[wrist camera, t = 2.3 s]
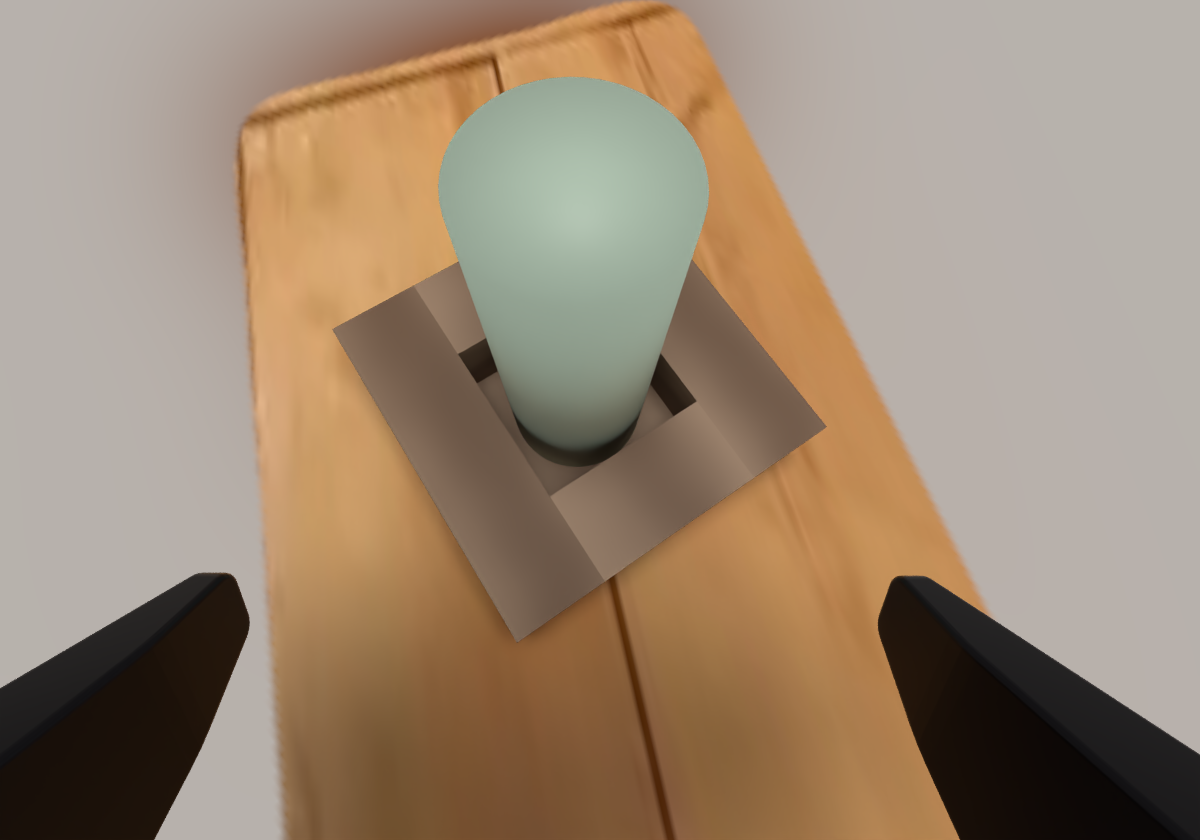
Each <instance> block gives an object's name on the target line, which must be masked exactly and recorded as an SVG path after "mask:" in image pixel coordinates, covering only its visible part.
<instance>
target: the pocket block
mask: <svg viewBox="0 0 1200 840" xmlns="http://www.w3.org/2000/svg"><path fill="white" fill-rule="evenodd" d="M332 330H333V331H334V333H335V335H336V337H337V338H338V340H339V342H340V343H341V345H342V347H343V348H344V350H345V352H346V353H347V355H348V357H349V359H350V360H351V362H352V364H353V365H354V367H355V369H356V370H357V372H358V374H359V376H360V377H361V379H362V381H363V382H364V384H365V386H366V387H367V389H368V391H369V393H370V394H371V396H372V398H373V399H374V401H375V403H376V404H377V406H378V408H379V409H380V411H381V413H382V415H383V416H384V418H385V420H386V421H387V423H388V425H389V426H390V428H391V430H392V432H393V433H394V435H395V437H396V438H397V440H398V442H399V443H400V445H401V447H402V448H403V450H404V452H405V454H406V455H407V457H408V459H409V460H410V462H411V464H412V465H413V467H414V469H415V471H416V472H417V474H418V476H419V477H420V479H421V481H422V482H423V484H424V486H425V488H426V489H427V491H428V493H429V494H430V496H431V498H432V499H433V501H434V503H435V504H436V506H437V508H438V510H439V511H440V513H441V515H442V516H443V518H444V520H445V521H446V523H447V525H448V527H449V528H450V530H451V532H452V533H453V535H454V537H455V538H456V540H457V542H458V543H459V545H460V547H461V549H462V550H463V552H464V554H465V555H466V557H467V559H468V560H469V562H470V564H471V566H472V567H473V569H474V571H475V572H476V574H477V576H478V577H479V579H480V581H481V583H482V584H483V586H484V588H485V589H486V591H487V593H488V594H489V596H490V598H491V599H492V601H493V603H494V605H495V606H496V608H497V610H498V611H499V613H500V615H501V616H502V618H503V620H504V622H505V623H506V625H507V627H508V628H509V630H510V632H511V633H512V635H513V637H514V639H515V640H516V642H519V641H520V640H522V639H523V638H525V637H526V636H527V635H529V634H530V633H532V632H533V631H535V630H536V629H537V628H539V627H540V626H542V625H543V624H545V623H546V622H548V621H549V620H550V619H552V618H553V617H555V616H556V615H558V614H559V613H560V612H562V611H563V610H565V609H566V608H568V607H569V606H570V605H572V604H573V603H575V602H576V601H578V600H579V599H581V598H582V597H583V596H585V595H586V594H588V593H589V592H591V591H592V590H593V589H595V588H596V587H598V586H599V585H601V584H602V583H604V582H605V581H606V580H608V579H609V578H611V577H612V576H614V575H615V574H616V573H618V572H619V571H621V570H622V569H624V568H625V567H626V566H628V565H629V564H631V563H632V562H634V561H635V560H637V559H638V558H639V557H641V556H642V555H644V554H645V553H647V552H648V551H649V550H651V549H652V548H654V547H655V546H657V545H658V544H660V543H661V542H662V541H664V540H665V539H667V538H668V537H670V536H671V535H672V534H674V533H675V532H677V531H678V530H680V529H681V528H682V527H684V526H685V525H687V524H688V523H690V522H691V521H693V520H694V519H695V518H697V517H698V516H700V515H701V514H703V513H704V512H705V511H707V510H708V509H710V508H711V507H713V506H714V505H715V504H717V503H718V502H720V501H721V500H723V499H724V498H726V497H727V496H728V495H730V494H731V493H733V492H734V491H736V490H737V489H738V488H740V487H741V486H743V485H744V484H746V483H747V482H749V481H750V480H751V479H753V478H754V477H756V476H757V475H759V474H760V473H761V472H763V471H764V470H766V469H767V468H769V467H770V466H771V465H773V464H774V463H776V462H777V461H779V460H780V459H782V458H783V457H784V456H786V455H787V454H789V453H790V452H792V451H793V450H794V449H796V448H797V447H799V446H800V445H802V444H803V443H805V442H806V441H807V440H809V439H810V438H812V437H813V436H815V435H816V434H817V433H819V432H820V431H822V430H823V429H825V428H826V425H825V424H824V423H823V422H822V420H821V419H820V418H819V417H818V415H817V414H816V413H815V412H814V410H813V409H812V408H811V407H810V405H809V404H808V403H807V402H806V401H805V399H804V398H803V397H802V396H801V394H800V393H799V392H798V391H797V389H796V388H795V387H794V386H793V384H792V383H791V382H790V381H789V379H788V378H787V377H786V376H785V374H784V373H783V372H782V371H781V369H780V368H779V367H778V366H777V365H776V363H775V362H774V361H773V360H772V358H771V357H770V356H769V355H768V353H767V352H766V351H765V350H764V348H763V347H762V346H761V345H760V343H759V342H758V341H757V340H756V338H755V337H754V336H753V335H752V333H751V332H750V331H749V330H748V329H747V327H746V326H745V325H744V324H743V322H742V321H741V320H740V319H739V317H738V316H737V315H736V314H735V312H734V311H733V310H732V309H731V307H730V306H729V305H728V304H727V302H726V301H725V300H724V299H723V298H722V296H721V295H720V294H719V293H718V291H717V290H716V289H715V288H714V286H713V285H712V284H711V283H710V281H709V280H708V279H707V278H706V276H705V275H704V274H703V273H702V271H701V270H700V269H699V268H698V266H697V265H696V264H695V263H694V262H693V260H692V259H691V262H690V265H689V268H688V271H687V274H686V277H685V280H684V283H683V286H682V289H681V292H680V295H679V298H678V301H677V304H676V307H675V310H674V313H673V316H672V319H671V322H670V325H669V328H668V331H667V334H666V337H665V340H664V344H663V347H662V350H661V353H660V356H659V359H658V362H657V365H656V368H655V371H654V374H653V377H652V380H651V383H650V386H649V389H648V392H647V395H646V398H645V401H644V404H643V407H642V410H641V413H640V416H639V419H638V422H637V425H636V427H635V430H634V432H633V434H632V436H631V438H630V439H629V441H628V442H627V443H626V445H625V446H624V447H623V448H622V449H621V450H620V451H619V452H618V453H616V454H615V455H613V456H612V457H610V458H609V459H607V460H605V461H603V462H600V463H598V464H594V465H590V466H583V467H570V466H563V465H560V464H556V463H553V462H551V461H549V460H547V459H545V458H543V457H542V456H540V455H539V454H537V453H536V452H535V451H534V450H533V449H532V448H531V447H530V446H529V445H528V444H527V442H526V441H525V440H524V438H523V437H522V435H521V433H520V431H519V428H518V426H517V423H516V420H515V417H514V415H513V412H512V409H511V406H510V403H509V401H508V398H507V395H506V392H505V389H504V387H503V384H502V381H501V378H500V375H499V373H498V370H497V367H496V364H495V361H494V359H493V356H492V353H491V350H490V347H489V345H488V342H487V339H486V336H485V333H484V331H483V328H482V325H481V322H480V319H479V317H478V314H477V311H476V308H475V305H474V303H473V300H472V297H471V294H470V291H469V289H468V286H467V283H466V280H465V277H464V275H463V272H462V269H461V266H460V263H459V262H457V263H455V264H453V265H451V266H449V267H448V268H446V269H444V270H442V271H440V272H438V273H436V274H434V275H433V276H431V277H429V278H427V279H425V280H423V281H421V282H420V283H418V284H416V285H414V286H412V287H410V288H408V289H406V290H405V291H403V292H401V293H399V294H397V295H395V296H393V297H391V298H390V299H388V300H386V301H384V302H382V303H380V304H378V305H377V306H375V307H373V308H371V309H369V310H367V311H365V312H363V313H362V314H360V315H358V316H356V317H354V318H352V319H350V320H348V321H347V322H345V323H343V324H341V325H339V326H337V327H335V328H334V329H332Z"/></svg>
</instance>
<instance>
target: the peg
mask: <svg viewBox="0 0 1200 840" xmlns="http://www.w3.org/2000/svg"><path fill="white" fill-rule="evenodd" d="M438 189H439V202H440V207H441V211H442V216H443V219H444V222H445V224H446V227H447V230H448V233H449V236H450V238H451V241H452V244H453V247H454V249H455V252H456V255H457V258H458V261H459V263H460V266H461V269H462V272H463V275H464V277H465V280H466V283H467V286H468V289H469V291H470V294H471V297H472V300H473V303H474V305H475V308H476V311H477V314H478V317H479V319H480V322H481V325H482V328H483V331H484V333H485V336H486V339H487V342H488V345H489V347H490V350H491V353H492V356H493V359H494V361H495V364H496V367H497V370H498V373H499V375H500V378H501V381H502V384H503V387H504V389H505V392H506V395H507V398H508V401H509V403H510V406H511V409H512V412H513V415H514V417H515V420H516V423H517V426H518V428H519V431H520V433H521V435H522V437H523V438H524V440H525V441H526V442H527V444H528V445H529V446H530V447H531V448H532V449H533V450H534V451H535V452H536V453H537V454H539V455H540V456H542V457H543V458H545V459H547V460H549V461H551V462H553V463H556V464H560V465H563V466H570V467H583V466H590V465H594V464H598V463H600V462H603V461H605V460H607V459H609V458H610V457H612V456H613V455H615V454H616V453H618V452H619V451H620V450H621V449H622V448H623V447H624V446H625V445H626V443H627V442H628V441H629V439H630V438H631V436H632V434H633V432H634V430H635V427H636V425H637V422H638V419H639V416H640V413H641V410H642V407H643V404H644V401H645V398H646V395H647V392H648V389H649V386H650V383H651V380H652V377H653V374H654V371H655V368H656V365H657V362H658V359H659V356H660V353H661V350H662V347H663V344H664V340H665V337H666V334H667V331H668V328H669V325H670V322H671V319H672V316H673V313H674V310H675V307H676V304H677V301H678V298H679V295H680V292H681V289H682V286H683V283H684V280H685V277H686V274H687V271H688V268H689V265H690V262H691V259H692V256H693V253H694V250H695V247H696V244H697V241H698V238H699V235H700V232H701V229H702V226H703V223H704V219H705V215H706V211H707V207H708V197H709V187H708V176H707V172H706V167H705V163H704V160H703V158H702V155H701V153H700V150H699V148H698V146H697V145H696V143H695V141H694V139H693V138H692V136H691V135H690V133H689V132H688V131H687V129H686V128H685V127H684V125H683V124H682V123H681V122H680V121H679V120H678V119H677V118H676V117H675V116H674V115H673V114H672V113H671V112H669V111H668V110H667V109H666V108H664V107H663V106H662V105H661V104H659V103H657V102H656V101H654V100H653V99H651V98H649V97H648V96H646V95H644V94H642V93H640V92H638V91H636V90H634V89H631V88H628V87H626V86H623V85H620V84H617V83H613V82H609V81H605V80H600V79H592V78H585V77H561V78H550V79H544V80H539V81H534V82H530V83H527V84H524V85H520V86H518V87H515V88H513V89H510V90H508V91H505V92H503V93H502V94H500V95H498V96H496V97H494V98H493V99H491V100H489V101H488V102H487V103H485V104H484V105H482V106H481V107H480V108H478V109H477V110H476V111H475V112H474V113H473V114H472V115H471V116H470V117H469V118H467V120H466V121H465V122H464V123H463V124H462V126H461V127H460V128H459V129H458V130H457V132H456V134H455V135H454V137H453V138H452V140H451V142H450V143H449V146H448V148H447V150H446V153H445V155H444V157H443V161H442V165H441V169H440V174H439V184H438Z"/></svg>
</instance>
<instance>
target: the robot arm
mask: <svg viewBox="0 0 1200 840" xmlns="http://www.w3.org/2000/svg"><path fill="white" fill-rule="evenodd" d="M249 624H250V621H249V614H248V612H247V609H246V606H245V603H244V600H243V598H242V595H241V592H240V589H239V586H238V583H237V581H236V579H235V578H234V577H233V576H232V575H231V574H228V573H198V574H195V575H193V576H191V577H189V578H188V579H186V580H184V581H183V582H181V583H179V584H177V585H176V586H174V587H172V588H171V589H169V590H167V591H166V592H164V593H162V594H160V595H159V596H157V597H155V598H154V599H152V600H150V601H148V602H147V603H145V604H143V605H142V606H140V607H138V608H137V609H135V610H133V611H131V612H130V613H128V614H126V615H125V616H123V617H121V618H120V619H118V620H116V621H115V622H113V623H111V624H109V625H107V626H106V627H104V628H102V629H101V630H99V631H97V632H95V633H94V634H92V635H90V636H89V637H87V638H85V639H84V640H82V641H80V642H78V643H77V644H75V645H73V646H72V647H70V648H68V649H66V650H65V651H63V652H62V653H60V654H58V655H56V656H54V657H53V658H51V659H49V660H48V661H46V662H44V663H43V664H41V665H39V666H38V667H36V668H34V669H32V670H31V671H29V672H27V673H25V674H24V675H22V676H20V677H19V678H17V679H16V680H14V681H12V682H10V683H9V684H7V685H5V686H3V687H2V688H0V840H154V839H155V837H156V835H157V833H158V831H159V829H160V827H161V826H162V824H163V822H164V820H165V818H166V816H167V814H168V812H169V810H170V808H171V806H172V804H173V802H174V801H175V799H176V797H177V795H178V793H179V791H180V789H181V787H182V785H183V783H184V781H185V779H186V777H187V776H188V774H189V772H190V770H191V768H192V766H193V764H194V762H195V760H196V758H197V756H198V754H199V752H200V750H201V748H202V745H203V743H204V741H205V738H206V736H207V734H208V731H209V729H210V727H211V724H212V722H213V719H214V717H215V714H216V712H217V709H218V707H219V705H220V702H221V700H222V697H223V695H224V692H225V690H226V687H227V684H228V682H229V680H230V677H231V675H232V672H233V670H234V667H235V665H236V662H237V660H238V658H239V655H240V652H241V650H242V648H243V645H244V643H245V640H246V638H247V635H248V631H249ZM878 631H879V635H880V639H881V642H882V645H883V648H884V650H885V653H886V656H887V659H888V662H889V665H890V668H891V671H892V674H893V677H894V680H895V683H896V686H897V688H898V691H899V694H900V697H901V700H902V703H903V706H904V709H905V712H906V715H907V718H908V721H909V724H910V726H911V729H912V732H913V735H914V737H915V740H916V743H917V745H918V747H919V750H920V752H921V754H922V757H923V759H924V761H925V764H926V766H927V768H928V770H929V773H930V775H931V777H932V779H933V781H934V784H935V786H936V788H937V790H938V792H939V795H940V797H941V799H942V801H943V803H944V806H945V808H946V810H947V812H948V814H949V817H950V819H951V821H952V823H953V825H954V828H955V830H956V832H957V834H958V836H959V839H960V840H1200V754H1198V753H1197V752H1195V751H1194V750H1192V749H1191V748H1189V747H1188V746H1186V745H1184V744H1183V743H1181V742H1180V741H1178V740H1177V739H1175V738H1174V737H1172V736H1170V735H1169V734H1168V733H1166V732H1165V731H1163V730H1161V729H1160V728H1158V727H1157V726H1155V725H1154V724H1152V723H1151V722H1149V721H1148V720H1146V719H1145V718H1143V717H1142V716H1140V715H1139V714H1137V713H1135V712H1134V711H1132V710H1131V709H1129V708H1128V707H1126V706H1125V705H1123V704H1122V703H1120V702H1118V701H1117V700H1116V699H1114V698H1112V697H1111V696H1109V695H1108V694H1106V693H1105V692H1103V691H1102V690H1100V689H1099V688H1097V687H1096V686H1094V685H1093V684H1091V683H1089V682H1088V681H1086V680H1085V679H1083V678H1082V677H1080V676H1079V675H1077V674H1076V673H1074V672H1073V671H1071V670H1070V669H1068V668H1067V667H1065V666H1063V665H1062V664H1060V663H1059V662H1057V661H1056V660H1054V659H1053V658H1051V657H1050V656H1048V655H1046V654H1045V653H1044V652H1042V651H1040V650H1039V649H1037V648H1036V647H1034V646H1033V645H1031V644H1030V643H1028V642H1027V641H1025V640H1024V639H1022V638H1021V637H1019V636H1017V635H1016V634H1014V633H1013V632H1011V631H1010V630H1008V629H1007V628H1005V627H1004V626H1002V625H1001V624H999V623H998V622H996V621H995V620H993V619H991V618H990V617H988V616H987V615H985V614H984V613H982V612H981V611H979V610H978V609H976V608H975V607H973V606H972V605H970V604H968V603H967V602H965V601H964V600H962V599H961V598H959V597H958V596H956V595H955V594H953V593H952V592H950V591H949V590H947V589H946V588H944V587H942V586H941V585H939V584H938V583H936V582H935V581H933V580H932V579H930V578H928V577H925V576H897V577H895V578H894V579H893V580H892V581H891V583H890V586H889V589H888V592H887V594H886V597H885V600H884V603H883V606H882V609H881V612H880V614H879V618H878Z"/></svg>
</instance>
